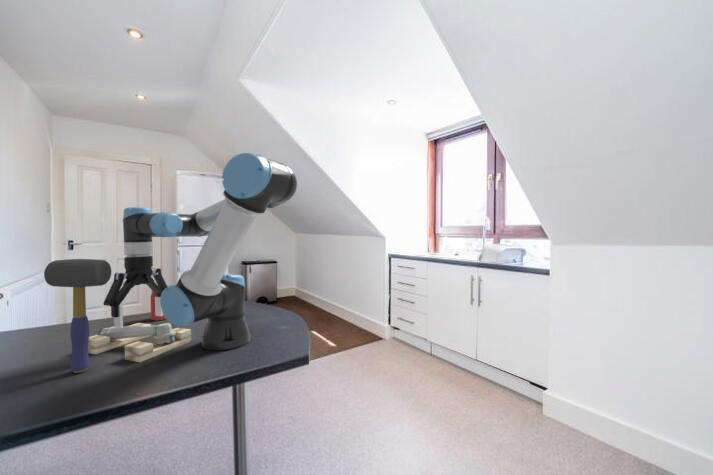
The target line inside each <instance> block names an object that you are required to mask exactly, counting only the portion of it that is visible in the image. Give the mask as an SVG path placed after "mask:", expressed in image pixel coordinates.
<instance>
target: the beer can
mask: <svg viewBox="0 0 713 475" xmlns="http://www.w3.org/2000/svg"><path fill="white" fill-rule="evenodd" d="M155 297H158V296H157V295H156V294H155V293H154V292H153V291H152V290H151V294H150V320H151V321H154V322H157V321H159V322H160V321H164V320H167V319H166V318H165V316H164V314H163V316H155Z"/></svg>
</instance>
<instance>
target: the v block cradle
mask: <svg viewBox="0 0 713 475" xmlns="http://www.w3.org/2000/svg"><path fill="white" fill-rule="evenodd" d="M129 326H152V324H150V323H143V322H137V323H133V324H130V325H127V327H129ZM172 331H176V334H175V341H173V342H170V343H167V342H166V343H164V344H160V345H158V344H156V342H155V343H152V342H146V341H145V342H144V341H140V340H142V339H145V338H148V337H149V336H142V337H133V338H123V339H115V340H113V341H110V337H106V336H100V335H98V334H95V335H91V336H89V340H88V354H90V355H91V354H93V355H99V354H101V353H104V352H107V351H110V350H113V349H115V348H116V349H117V348H119V347H122V346H124V360H125V361H132V362H137V363H142V362H144V361H146V360H149V359H151V358H154V357H156V356H157V357H158V356H159V355H161V354H163V353H166V352H169V351H171V350H173V349H175V348H178V347H180V346H182V345H186V344H187V343H190V342H192V329H190V328H183V327H175V328H172Z"/></svg>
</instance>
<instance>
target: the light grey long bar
mask: <svg viewBox="0 0 713 475" xmlns="http://www.w3.org/2000/svg"><path fill="white" fill-rule="evenodd" d="M128 326H129V327H128ZM128 326H123V328H115V327H114V325H113V326H110V327H104V328H102V329H100V330H99V332H98V333H97V335H100V336H106V337H110V341H113V340H115V339H123V338H133V337H142V336H148V337H151V336H153V339H155V343H156V344H158V345H160V344H164V343H166V342H167V343H170V342H173V341H175V334H176V331H172V329H173V328H172V327H173V326H172V324H171V323H170V322H165V323H160V324H156V325H151V326H130V325H128Z"/></svg>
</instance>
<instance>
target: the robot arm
mask: <svg viewBox="0 0 713 475" xmlns="http://www.w3.org/2000/svg"><path fill="white" fill-rule="evenodd" d="M221 177H222V179H223V180H222V185H223V189H224V191H223V193H222V195H223V197H224V199H222V200H220V201H218V202H216V203H213V204H212V205H209V206H208V207H205V208H203V209H200V210H199V211H197V212H194V213H191V214H189V213H188V214H184V213H183V214H182V213H181V214H180V213H174V212H165V211H163V212H154V213H152V209H151V208H150V207H149V208H148V207H140V206H139V207H138V206H137V207H136V206H135V207H129V206H128V207H126V208H124V209H123V218H122V225H123V226H122V227H123V230H122V231H123V232H122V233H123V254H124V255H123V256H124V258H123V262H124V266H123V267H124V269H125V272H115V273H114V274H113V275H114V277H113V282H112V284H111V286H110V288H109V290H108V292H107V295H106V297H105V299H104V301H103V305H104V306H106V307H107V306H108V307H110V312H111V313H110V316H111V318H113V326H114V327H115V328H123V327H124V318H123V317H124V314H123V311H124V310H123V305H121V304H122V302H123V301H124V300H125V299H126V297H127V295H128V294H129V293H130V291H131V290H132V288H134V287H135V286H140V285H146V286H148V288H149V289H150V290H151V292H152V291H153V292H154V293H155V294H156V295H157V296H158V297H155V316H163V314H164V316H165V318H166V319H165V320H167V321H168V323H170V324H171V325H174V326H177V327H183V326H187V325H192V324H193V323H196V322H200V321H203V320H206V319H207V321H206V325H205V327H204V330H203V335H202V336H201V347H202V348H203V349H205V350H210V351H224V350H231V349H235V348H239V347H240V348H241V347H242V346H245V345H247V343H249V342H250V341H251V333H250V330H249V326H248V323H247V320H246V317H245V312H246V310H245V309H246V306H245V305H246V304H245V303H246V302H245V301H246V298H245V297H246V293H245V292H246V285H245V283H246V282H245V278H244V276H243V275H241V274H229V273H226V272H227V270H228V268H229V266H230V264H231V262H232V261H233V258H234V257H235V256H236V253H237V252H238V250H239V248H240V246H241V244H242V242H243V241H244V238H246V235H247V233H248V232H249V230H250V228H251V226H252V224H253V223H254V220H255V218H256V217H257V216H260V215H263V214H264V213H265V212H266V210H267V209H268V210H269V209H273V208H275V207H278V206H280V205H282V204H284V203H287V202H289V201H290V200H291V199H292V198H293V196H294V195H295V194H296V191H297V188H298V187H297V186H298V181H297V176H296V174H295V173H294V171H293V169H291V167H289V166H288V165H286V164H284V163H282V162H278V161H275V160H273V159H271V158H267V157H265V156H263V155H261V154H256V153H252V152H251V153H250V152H243V153H239V154H236V155H234V156H232V157H231V158H230V159H229V160H228V162H227V163H226V164H225V165H224V168H223V171H222V176H221ZM175 237H176V238H177V237H178V238H180V237H181V238H182V237H190V238H191V237H198V238H201V237H206V239H205V241H204V243H203V245H202V247H201V249H200V250H199V253H198V255H197V256H196V259H195V260H194V263H193V264H192V266H191V268H190V269H188V270H185V271H183V272H182V273H181V275H180V277H179V279H178V281H177V283H176V284H175V285H169V286H168V285H167V283H166V281H165V279H164V277H163V274H162V268H158V267H157V268H155V267H154V268H152V267H153V265H154V262H153V261H154V260H153V256H152V254H153V252H154V251H153V250H154V249H153V238H175ZM125 279H126V280H125ZM124 280H125V281H124Z"/></svg>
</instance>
